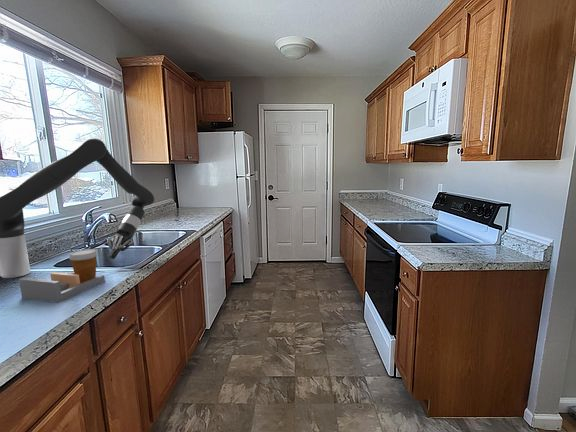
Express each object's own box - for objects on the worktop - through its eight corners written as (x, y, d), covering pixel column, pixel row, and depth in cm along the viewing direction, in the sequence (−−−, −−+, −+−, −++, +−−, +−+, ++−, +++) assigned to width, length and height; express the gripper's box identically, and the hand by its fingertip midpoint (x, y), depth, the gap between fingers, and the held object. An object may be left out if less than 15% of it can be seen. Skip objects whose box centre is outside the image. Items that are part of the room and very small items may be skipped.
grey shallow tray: (21, 298, 105) (18, 279, 104) (73, 278, 124) (70, 261, 123) (57, 302, 102) (54, 283, 100) (105, 281, 120) (103, 264, 119)
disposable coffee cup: (73, 287, 114) (69, 257, 113) (71, 280, 122) (67, 251, 120) (102, 281, 120) (98, 252, 118) (98, 274, 128) (95, 247, 126)
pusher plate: (47, 289, 112) (44, 275, 111) (55, 286, 115) (53, 272, 114) (72, 292, 109) (70, 277, 108) (80, 288, 112) (78, 274, 111)
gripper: (112, 221, 141) (93, 253, 132) (136, 222, 138) (118, 255, 129) (122, 229, 147) (104, 261, 138) (145, 231, 144) (128, 263, 135)
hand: (111, 258), depth 133 cm, fingers closed
